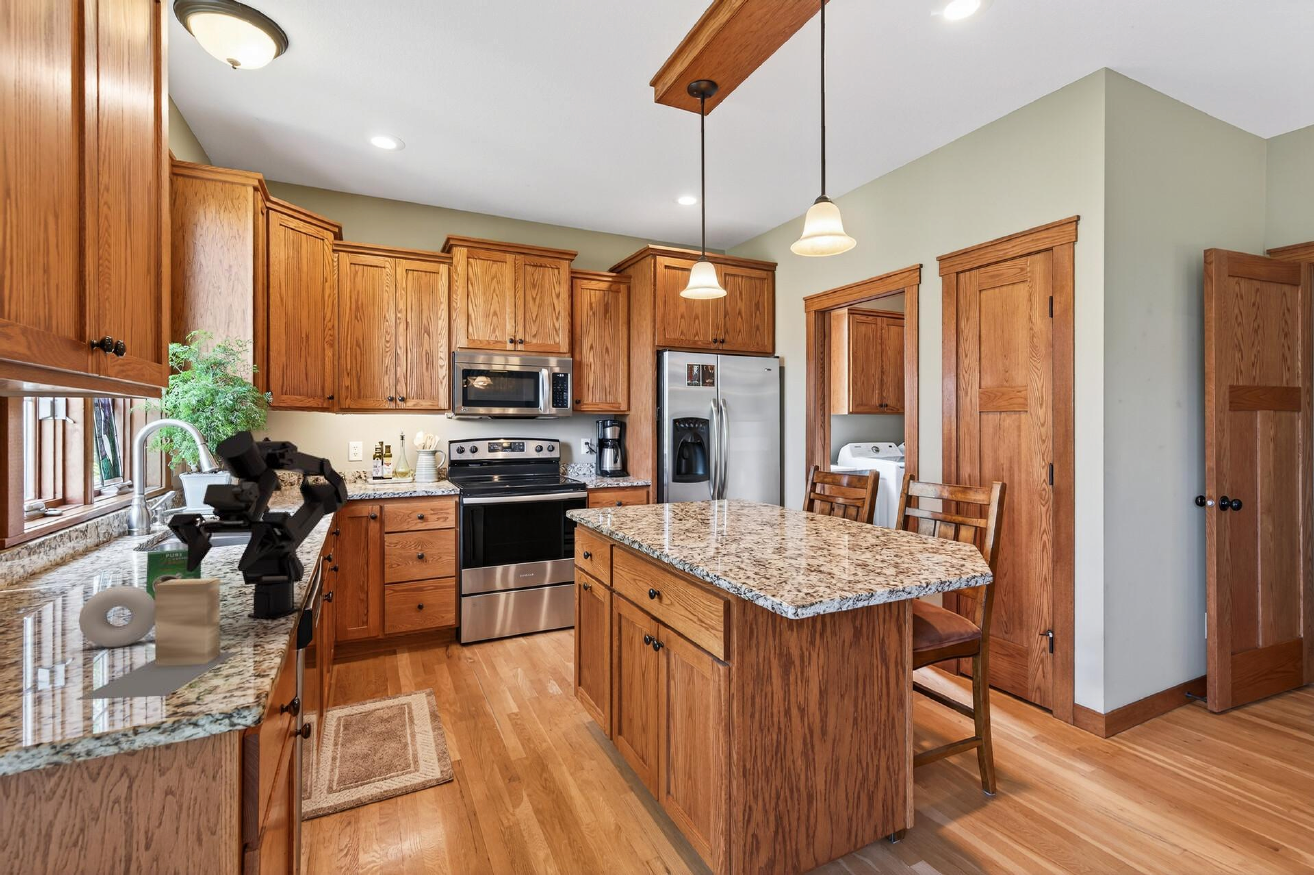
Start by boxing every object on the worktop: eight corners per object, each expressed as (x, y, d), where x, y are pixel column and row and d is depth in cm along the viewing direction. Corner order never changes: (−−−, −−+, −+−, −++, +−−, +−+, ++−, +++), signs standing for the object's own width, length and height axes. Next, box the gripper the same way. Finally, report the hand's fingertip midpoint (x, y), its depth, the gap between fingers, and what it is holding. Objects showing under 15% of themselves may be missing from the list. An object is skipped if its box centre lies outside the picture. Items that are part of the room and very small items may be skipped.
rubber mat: (163, 656, 94) (163, 655, 94) (238, 653, 96) (238, 652, 96) (76, 700, 79) (76, 699, 79) (167, 696, 80) (167, 695, 80)
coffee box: (200, 613, 117) (199, 546, 117) (202, 616, 115) (201, 548, 115) (145, 622, 112) (145, 551, 112) (146, 626, 110) (146, 553, 110)
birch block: (171, 657, 93) (171, 579, 93) (220, 655, 94) (219, 578, 94) (155, 665, 90) (154, 585, 90) (205, 663, 91) (205, 583, 91)
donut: (161, 639, 102) (160, 580, 102) (153, 645, 99) (153, 584, 99) (84, 647, 98) (84, 586, 98) (74, 654, 95) (74, 591, 95)
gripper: (174, 466, 103) (124, 543, 92) (290, 465, 105) (255, 540, 94) (204, 506, 111) (162, 582, 100) (312, 505, 112) (282, 579, 102)
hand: (214, 570), depth 99 cm, fingers open, 7 cm apart
